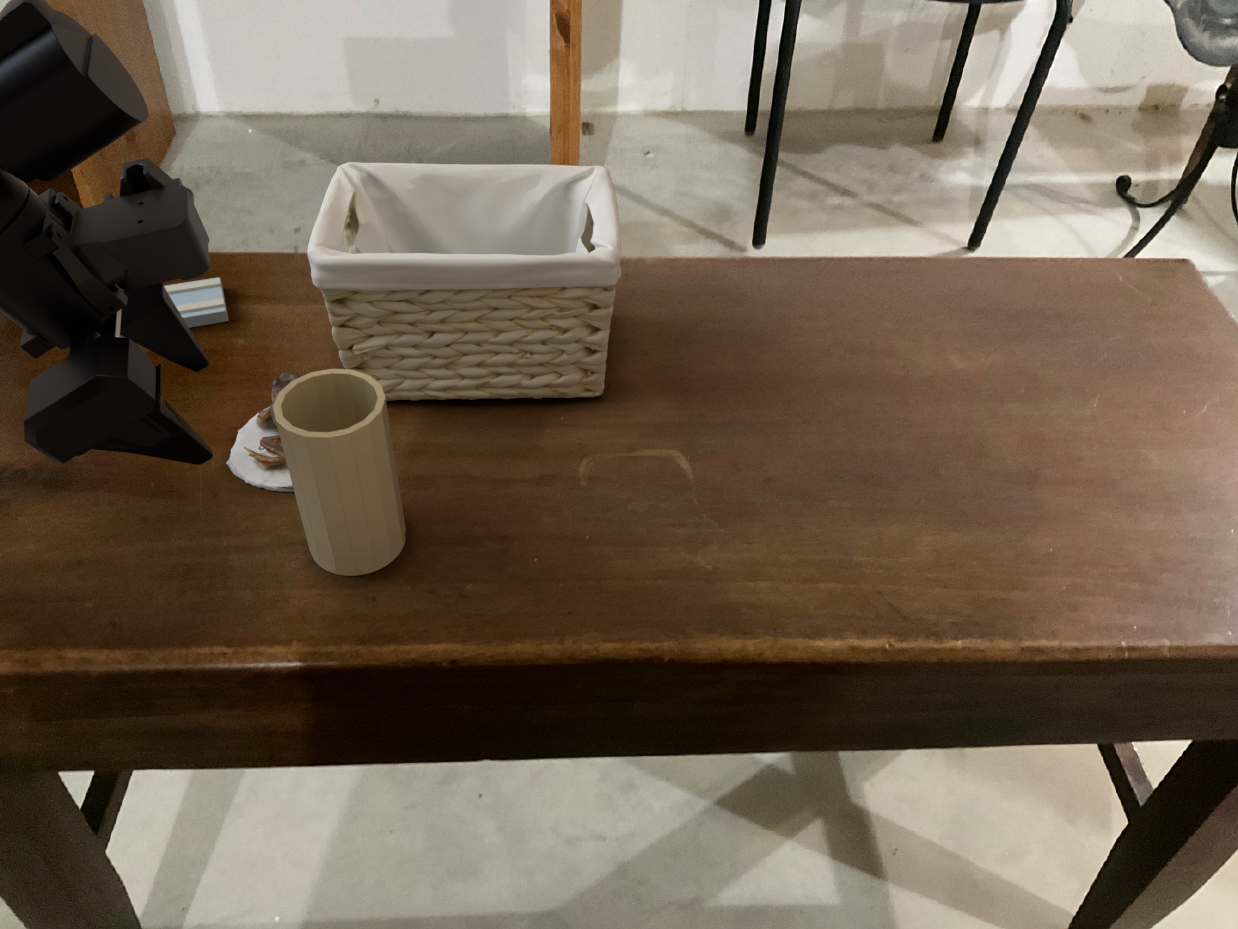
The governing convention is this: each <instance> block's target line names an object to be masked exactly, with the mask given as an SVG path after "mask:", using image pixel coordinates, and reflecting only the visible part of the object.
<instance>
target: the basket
mask: <svg viewBox="0 0 1238 929" xmlns="http://www.w3.org/2000/svg"><path fill="white" fill-rule="evenodd" d="M322 200H323V201H322V204H321V206H320V208H319V211H318V215H317V218H316V220H315V223H314V225H313V228H312V231H311V233H310V236H309V241H308V244H307V251H306V254H307V259H308V261H309V266H310V276H311V281H312V284H313V286H314V287H316V288H317V289H319V290H320V292H321V293H322V297H323V299H324V304H325V309H326V311H327V313H328V320H329V323H330V325H331V326H332V328H331V336H332V340H333V341H334V344H336V346H337V349H338V357H339V361H340V362H341V363H342V366H343V368H344V369H351V370H355V371H358V372H361V373H364V374H367V375H370V376H371V377H372V378H373V379H375V380H376V381H377V382H378V383H379V384H381V386H382V389H383V391H384V394H385V397H386V402H391V401H406V400H407V401H408V400H409V401H421V400H439V401H446V400H470V401H472V400H478V399H502V400H511V399H534V400H535V399H537V400H538V399H544V398H552V399H553V398H565V399H573V398H595V397H599V396H601V395H603V393H604V389H605V379H606V370H607V359H608V349H609V339H610V338H609V336H610V332H611V322H612V316H613V313H614V303H615V300H616V294H617V293H616V291H617V290H616V284H617V283H618V281H619V280H620V279H621V277H622V268H621V259H622V252H621V250H622V245H621V244H622V236H621V234H622V233H621V222H620V214H619V204H618V199H617V194H616V191H615V187H614V184H613V179H612V176H611V173H610V170H609V169H607V168H606V167H605V166H602V165H597V164H595V165H569V164H568V165H567V164H524V163H523V164H520V163H519V164H465V163H464V164H463V163H462V164H456V163H455V164H453V163H452V164H451V163H450V164H449V163H448V164H447V163H409V162H408V163H407V162H405V163H404V162H354V161H349V162H346V163H341V164H340V165H338V166H337V168H336V170H335V173H334V175H333V176H332V177H331V179H330V183H329V184H328V187H327V190H326V192H325V194H324V198H323V199H322ZM343 237H344V239H345V243H346V245H347V247H348V252H346V250H345V246H344V240H343Z"/></svg>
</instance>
